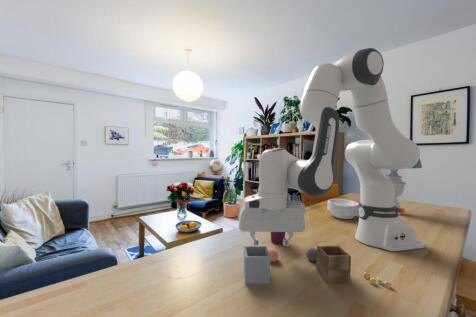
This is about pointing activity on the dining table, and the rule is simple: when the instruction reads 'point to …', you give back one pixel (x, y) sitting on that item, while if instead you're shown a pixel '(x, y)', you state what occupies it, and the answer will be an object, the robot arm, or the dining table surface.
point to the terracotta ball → (273, 254)
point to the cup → (277, 237)
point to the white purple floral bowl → (343, 208)
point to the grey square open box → (256, 265)
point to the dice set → (379, 281)
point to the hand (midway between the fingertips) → (270, 244)
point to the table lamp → (399, 182)
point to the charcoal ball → (312, 254)
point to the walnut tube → (333, 264)
